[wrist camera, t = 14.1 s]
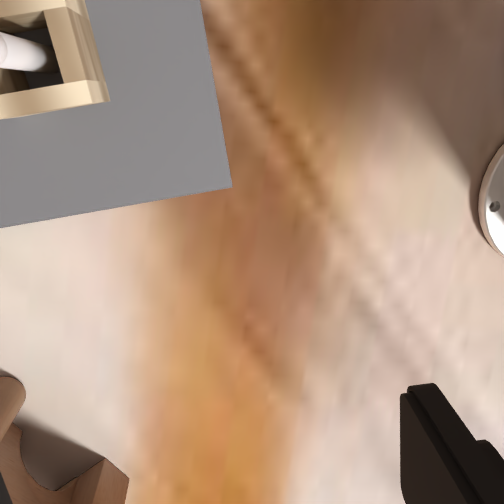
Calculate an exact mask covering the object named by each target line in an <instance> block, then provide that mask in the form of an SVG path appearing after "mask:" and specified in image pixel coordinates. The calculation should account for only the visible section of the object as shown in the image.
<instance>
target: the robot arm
mask: <svg viewBox="0 0 504 504" xmlns="http://www.w3.org/2000/svg"><path fill="white" fill-rule="evenodd" d="M478 212H479V219H480V225H481V227H482V230H483V233H484V236H485V237H486V239H487V240H488V242H489V244H490V245H491V247H492V248H493V249H495V250H496V251H497V252H498V253H499V254H500V255H501V256H503V257H504V144H503V145H502V146H501V147H500V149H499V150H498V151H497V153H496V154H495V156H494V158H493V159H492V161H491V162H490V164H489V166H488V168H487V171H486V173H485V175H484V178H483V181H482V185H481V189H480V193H479V204H478ZM400 477H401V490H402V494H403V498H404V500H405V503H406V504H504V459H503V458H502V457H501V455H500V454H499V453H498V451H497V450H496V449H495V448H494V447H493V445H492V444H491V443H490V442H488V441H486V440H478V441H476V440H475V438H474V437H473V435H472V434H471V433H470V431H469V430H468V428H467V427H466V426H465V424H464V423H463V421H462V420H461V419H460V417H459V416H458V414H457V413H456V412H455V410H454V409H453V407H452V406H451V405H450V403H449V402H448V400H447V399H446V398H445V396H444V395H443V393H442V392H441V391H440V389H439V388H438V386H437V385H436V384H434V383H429V384H421V385H413V386H409V387H408V389H407V393H403V394H401V396H400ZM0 504H13V503H12V500H11V498H10V495H9V493H8V490H7V487H6V485H5V482H4V480H3V477H2V475H1V472H0Z"/></svg>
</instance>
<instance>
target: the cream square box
mask: <svg viewBox="0 0 504 504" xmlns="http://www.w3.org/2000/svg"><path fill="white" fill-rule="evenodd" d="M43 28H48V29H49V33H50V36H51V40H52V43H53V47H54V50H55V54H56V57H57V61H58V64H59V68H60V71H61V75H62V78H63V81H64V84H59V85H53V86H48V87H42V88H36V89H30V88H29V85H28V81H27V78H26V75H25V72H24V71H23V70H15V69H7V68H0V119H8V118H16V117H22V116H28V115H34V114H40V113H45V112H51V111H57V110H63V109H69V108H74V107H80V106H86V105H92V104H97V103H103V102H109V101H110V97H109V93H108V89H107V85H106V81H105V77H104V74H103V70H102V66H101V62H100V58H99V54H98V50H97V46H96V42H95V39H94V35H93V31H92V27H91V23H90V19H89V15H88V11H87V7H86V4H85V0H0V32H2V33H5V34H9V35H12V36H13V34H14V33H20V32H26V31H32V30H38V29H43Z"/></svg>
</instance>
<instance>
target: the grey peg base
mask: <svg viewBox="0 0 504 504" xmlns="http://www.w3.org/2000/svg"><path fill="white" fill-rule="evenodd" d="M85 4H86V7H87V11H88V15H89V19H90V23H91V27H92V31H93V35H94V39H95V42H96V46H97V50H98V54H99V58H100V62H101V66H102V70H103V74H104V77H105V81H106V85H107V89H108V93H109V97H110V101H109V102H103V103H97V104H92V105H86V106H80V107H74V108H69V109H63V110H57V111H51V112H45V113H40V114H34V115H28V116H22V117H16V118H8V119H0V228H4V227H10V226H15V225H21V224H27V223H32V222H38V221H44V220H49V219H55V218H61V217H66V216H72V215H78V214H83V213H89V212H95V211H100V210H106V209H112V208H117V207H123V206H129V205H134V204H140V203H146V202H151V201H157V200H163V199H168V198H174V197H180V196H185V195H191V194H197V193H202V192H208V191H214V190H220V189H225V188H231V187H232V181H231V175H230V170H229V164H228V158H227V152H226V147H225V141H224V135H223V130H222V124H221V118H220V113H219V107H218V101H217V96H216V90H215V84H214V78H213V73H212V67H211V61H210V56H209V50H208V44H207V39H206V33H205V27H204V21H203V16H202V10H201V4H200V0H85ZM0 68H7V69H15V70H23V71H24V72H25V75H26V78H27V81H28V85H29V88H30V89H36V88H42V87H48V86H53V85H59V84H64V81H63V78H62V75H61V71H60V68H59V64H58V61H57V57H56V54H55V50H54V47H53V43H52V40H51V36H50V33H49V29H48V28H43V29H38V30H32V31H26V32H20V33H14V34H13V36H12V35H9V34H5V33H2V32H0Z"/></svg>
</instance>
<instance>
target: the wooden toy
mask: <svg viewBox="0 0 504 504" xmlns="http://www.w3.org/2000/svg"><path fill="white" fill-rule="evenodd" d="M25 398H26V391H25V388H24V386H23V385H22V384H21V382H19V381H18V380H16V379H14V378H11V377H0V472H1V475H2V477H3V480H4V482H5V485H6V487H7V490H8V493H9V495H10V498H11V500H12V503H13V504H125V499H126V494H127V489H128V484H129V478H128V477H127V476H125V475H124V474H123V473H122V472H121V471H120V470H119V469H117V468H116V467H115V466H114V465H113V464H112V463H110V462H109V461H108V460H107V459H106V458H105V459H103V460H102V461H100V462H99V463H97V464H96V465H95V466H93V467H92V468H90V469H89V470H87V471H86V472H84V473H83V474H82V475H80V476H79V477H76V478H74V479H73V480H72V481H70V482H69V483H67V484H66V485H64V486H63V487H62V488H60V489H59V490H57V491H50V490H49V489H47V488H45V487H43V486H41V485H39V484H38V483H37V482H36V481H35V480H34V479H33V478H32V477H31V476H30V475H29V473H28V472H27V470H26V468H25V466H24V463H23V461H22V459H21V452H20V440H21V437H22V430H21V429H19V428H18V427H17V426H16V425H14V424H13V423H12V422H13V420H14V418H15V417H16V415H17V413H18V412H19V410H20V408H21V406H22V405H23V403H24V401H25Z"/></svg>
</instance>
